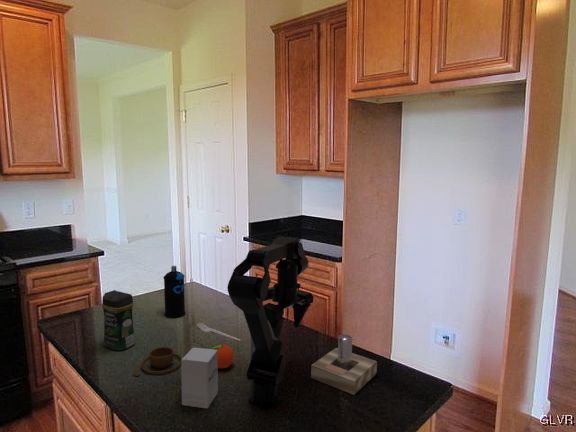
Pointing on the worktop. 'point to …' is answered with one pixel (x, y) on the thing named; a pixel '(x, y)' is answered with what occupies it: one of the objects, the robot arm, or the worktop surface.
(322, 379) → the hole block
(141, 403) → the worktop surface
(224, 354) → the clementine
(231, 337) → the white plastic spoon
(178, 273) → the aerosol can
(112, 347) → the coffee jar
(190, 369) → the supplement box
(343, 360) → the peg
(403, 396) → the worktop surface
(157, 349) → the place setting
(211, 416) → the worktop surface
